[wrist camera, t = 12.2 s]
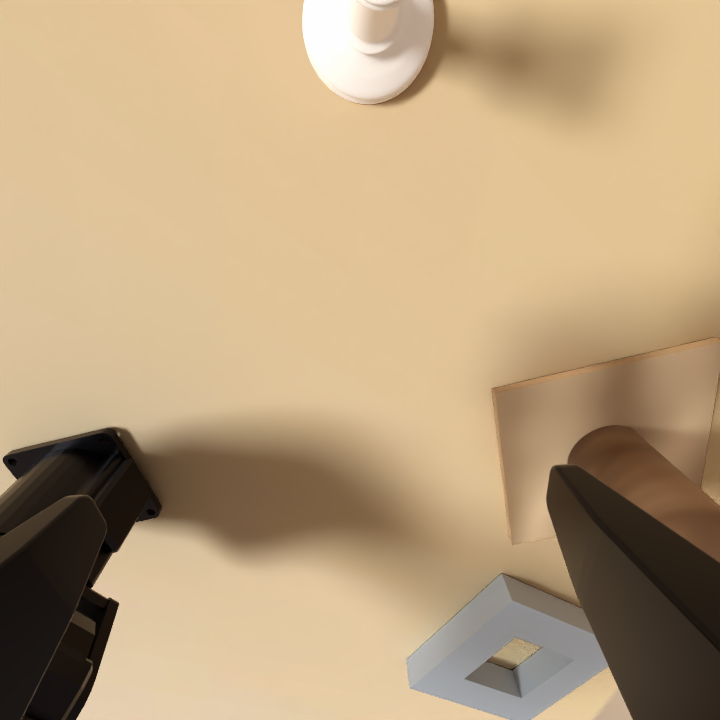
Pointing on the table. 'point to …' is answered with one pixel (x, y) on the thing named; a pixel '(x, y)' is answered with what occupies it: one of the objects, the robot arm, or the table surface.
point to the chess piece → (368, 45)
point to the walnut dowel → (650, 483)
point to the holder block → (490, 634)
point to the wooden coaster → (602, 421)
